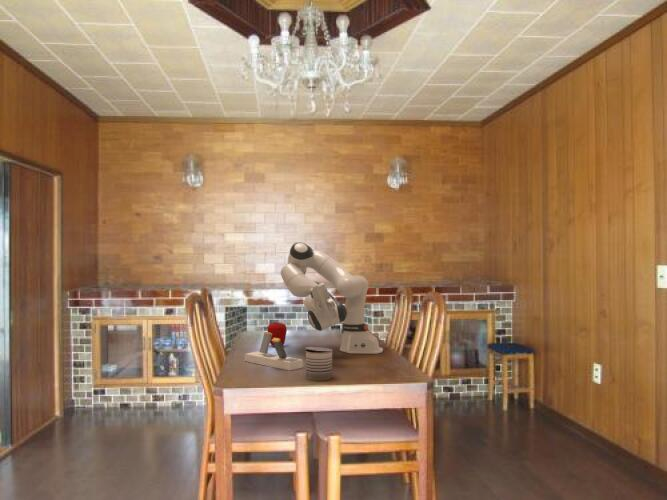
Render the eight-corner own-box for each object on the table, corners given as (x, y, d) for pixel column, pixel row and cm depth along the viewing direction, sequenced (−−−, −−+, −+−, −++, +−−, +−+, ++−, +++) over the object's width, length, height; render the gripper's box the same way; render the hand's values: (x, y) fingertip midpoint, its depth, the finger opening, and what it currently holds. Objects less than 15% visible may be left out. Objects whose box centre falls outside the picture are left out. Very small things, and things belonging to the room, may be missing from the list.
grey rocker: (261, 352, 248) (267, 332, 250) (267, 353, 245) (272, 333, 248) (259, 352, 247) (264, 331, 249) (264, 353, 244) (269, 332, 247)
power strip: (257, 358, 254) (257, 350, 254) (302, 367, 235) (302, 359, 235) (244, 361, 248) (244, 353, 248) (290, 370, 228) (290, 361, 228)
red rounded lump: (263, 346, 287) (263, 321, 287) (277, 343, 295) (277, 319, 295) (276, 348, 280) (276, 323, 280) (290, 346, 288) (290, 321, 288)
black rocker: (281, 355, 238) (274, 337, 235) (287, 356, 236) (279, 338, 232) (279, 357, 237) (271, 339, 234) (284, 358, 235) (277, 340, 231)
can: (301, 375, 221) (301, 346, 221) (326, 372, 225) (326, 344, 225) (311, 381, 210) (311, 351, 210) (337, 378, 215) (337, 349, 215)
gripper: (324, 326, 249) (336, 328, 236) (308, 286, 246) (319, 287, 234) (335, 320, 251) (347, 322, 238) (319, 281, 249) (330, 281, 236)
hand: (333, 304), depth 236 cm, fingers closed
